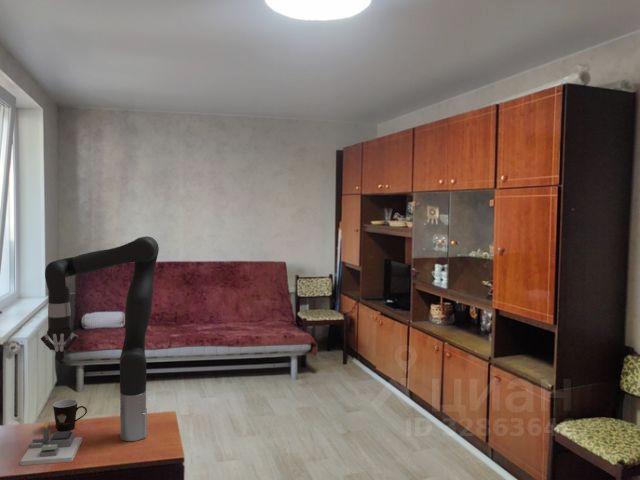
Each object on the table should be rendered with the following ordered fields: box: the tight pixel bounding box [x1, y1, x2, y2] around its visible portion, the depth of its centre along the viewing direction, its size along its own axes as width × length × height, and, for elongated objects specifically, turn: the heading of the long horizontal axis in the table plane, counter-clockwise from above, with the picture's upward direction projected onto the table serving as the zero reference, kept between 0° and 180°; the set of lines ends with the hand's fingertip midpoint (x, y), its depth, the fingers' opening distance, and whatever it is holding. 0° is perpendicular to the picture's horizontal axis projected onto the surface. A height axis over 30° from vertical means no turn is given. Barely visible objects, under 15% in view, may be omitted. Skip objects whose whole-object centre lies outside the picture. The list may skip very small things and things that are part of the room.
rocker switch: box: [41, 444, 57, 450], centre depth 190 cm, size 4×3×1 cm, turn 102°
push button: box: [52, 430, 72, 441], centre depth 198 cm, size 5×5×3 cm
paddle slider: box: [42, 421, 50, 444], centre depth 197 cm, size 2×3×7 cm, turn 12°
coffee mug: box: [52, 398, 88, 432], centre depth 213 cm, size 12×9×10 cm
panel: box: [20, 431, 83, 466], centre depth 194 cm, size 16×16×4 cm
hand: (60, 360), depth 204 cm, fingers closed
